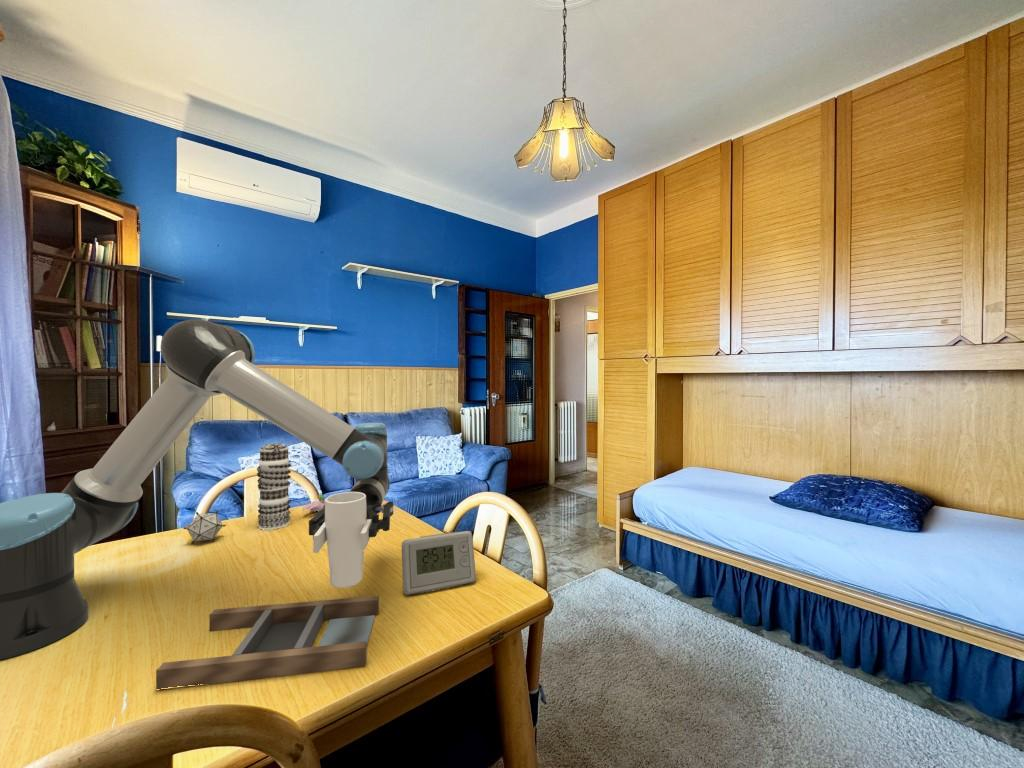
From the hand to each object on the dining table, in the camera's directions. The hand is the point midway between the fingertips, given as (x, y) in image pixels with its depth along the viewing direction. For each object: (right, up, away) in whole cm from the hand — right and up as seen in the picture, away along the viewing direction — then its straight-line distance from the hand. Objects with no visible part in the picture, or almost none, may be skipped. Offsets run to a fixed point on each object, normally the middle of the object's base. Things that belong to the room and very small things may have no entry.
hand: (339, 542), depth 66 cm
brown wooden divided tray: (-11, -19, +4) cm, 22 cm away
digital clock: (+12, -19, +24) cm, 33 cm away
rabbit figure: (-38, -18, +72) cm, 83 cm away
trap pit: (-11, -19, +4) cm, 22 cm away
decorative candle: (-45, -18, +59) cm, 76 cm away
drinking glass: (-1, -9, +5) cm, 10 cm away
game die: (-57, -18, +46) cm, 76 cm away
